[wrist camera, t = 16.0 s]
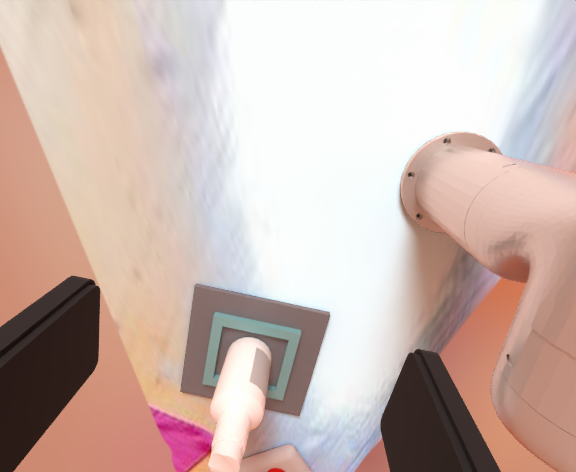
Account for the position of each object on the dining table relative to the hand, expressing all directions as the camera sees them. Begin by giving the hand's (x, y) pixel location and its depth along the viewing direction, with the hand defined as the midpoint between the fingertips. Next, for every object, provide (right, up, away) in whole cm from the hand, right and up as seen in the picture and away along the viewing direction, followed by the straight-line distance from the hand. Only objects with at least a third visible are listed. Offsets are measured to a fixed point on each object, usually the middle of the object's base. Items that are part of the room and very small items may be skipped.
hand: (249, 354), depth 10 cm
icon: (-1, -39, +54) cm, 66 cm away
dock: (-5, -15, +45) cm, 47 cm away
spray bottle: (-5, -15, +44) cm, 47 cm away
